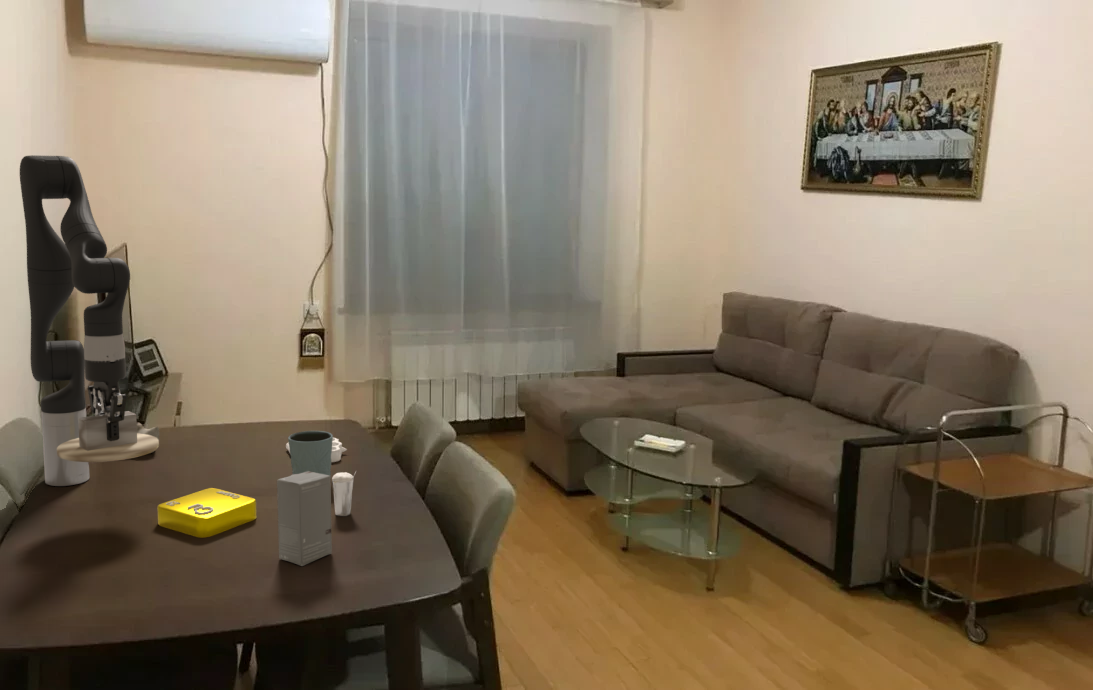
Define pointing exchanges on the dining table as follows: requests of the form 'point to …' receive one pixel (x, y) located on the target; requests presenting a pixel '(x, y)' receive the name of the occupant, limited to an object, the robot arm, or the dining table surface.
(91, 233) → the robot arm
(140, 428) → the ceramic sculpture
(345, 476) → the milkshake
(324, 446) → the blue-grey pot
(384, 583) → the dining table surface
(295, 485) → the skincare box
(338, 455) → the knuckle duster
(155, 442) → the lid
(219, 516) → the element tile
